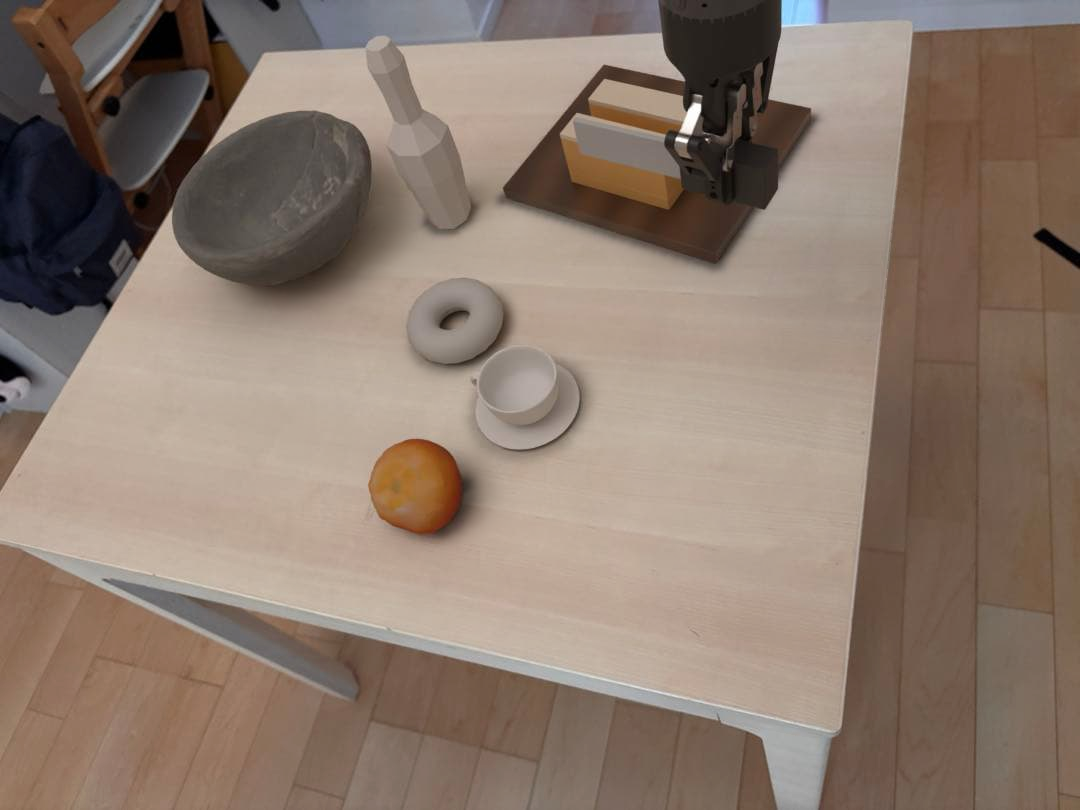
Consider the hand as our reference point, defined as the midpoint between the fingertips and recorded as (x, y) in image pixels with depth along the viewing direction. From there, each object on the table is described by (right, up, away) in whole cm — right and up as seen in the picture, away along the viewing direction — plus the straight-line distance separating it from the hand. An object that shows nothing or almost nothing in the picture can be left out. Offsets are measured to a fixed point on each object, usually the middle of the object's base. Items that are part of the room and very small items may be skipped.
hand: (729, 185), depth 67 cm
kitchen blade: (-4, +1, +2) cm, 5 cm away
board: (-2, +10, +28) cm, 30 cm away
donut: (-23, -9, +21) cm, 32 cm away
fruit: (-25, -26, +11) cm, 37 cm away
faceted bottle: (-25, +4, +31) cm, 40 cm away
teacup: (-16, -17, +14) cm, 27 cm away
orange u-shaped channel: (-4, +9, +26) cm, 28 cm away
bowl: (-42, +2, +34) cm, 54 cm away
